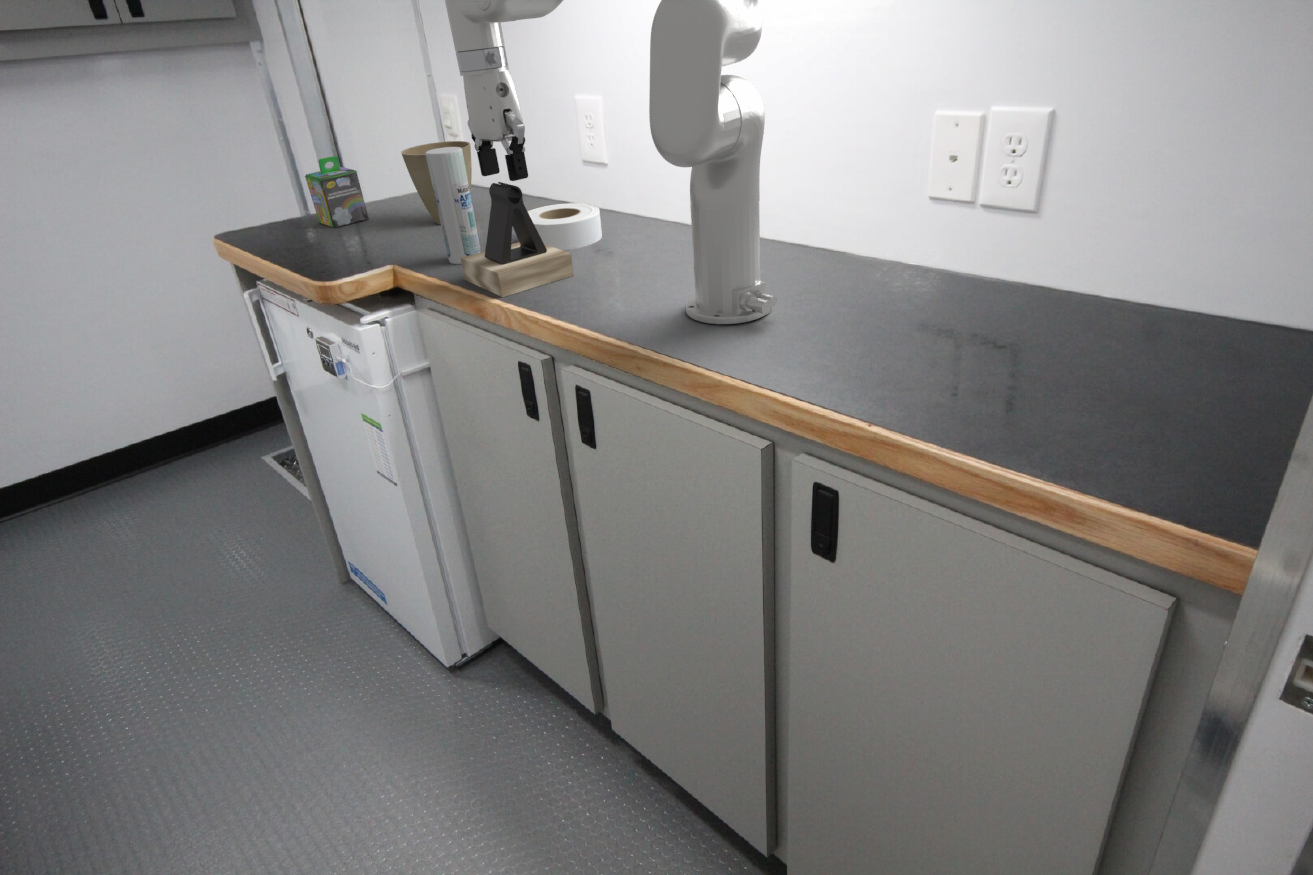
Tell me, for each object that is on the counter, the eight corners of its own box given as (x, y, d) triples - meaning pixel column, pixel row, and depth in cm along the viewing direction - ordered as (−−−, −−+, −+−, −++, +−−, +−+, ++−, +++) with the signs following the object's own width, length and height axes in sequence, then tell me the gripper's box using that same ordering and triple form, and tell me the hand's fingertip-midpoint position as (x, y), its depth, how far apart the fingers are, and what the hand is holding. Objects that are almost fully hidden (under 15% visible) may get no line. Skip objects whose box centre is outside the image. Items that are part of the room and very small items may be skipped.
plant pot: (416, 218, 185) (400, 147, 177) (479, 209, 188) (466, 138, 180) (419, 233, 172) (402, 157, 165) (487, 222, 176) (473, 147, 168)
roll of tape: (617, 239, 156) (614, 210, 154) (546, 257, 149) (542, 227, 146) (579, 225, 168) (575, 199, 165) (511, 242, 161) (506, 214, 158)
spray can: (456, 254, 155) (434, 147, 145) (487, 253, 154) (467, 146, 144) (442, 264, 149) (418, 154, 140) (474, 264, 148) (452, 152, 138)
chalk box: (354, 215, 194) (337, 151, 186) (370, 219, 188) (353, 154, 180) (317, 223, 188) (298, 159, 181) (333, 229, 182) (314, 162, 175)
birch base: (573, 275, 137) (570, 253, 135) (502, 297, 130) (498, 273, 128) (533, 260, 147) (529, 239, 145) (464, 279, 140) (460, 257, 138)
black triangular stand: (501, 265, 132) (488, 192, 126) (484, 258, 136) (471, 187, 131) (547, 252, 137) (536, 181, 131) (530, 246, 141) (519, 177, 135)
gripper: (531, 57, 117) (551, 176, 125) (479, 61, 130) (500, 169, 138) (486, 64, 114) (509, 186, 122) (437, 67, 126) (461, 177, 134)
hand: (504, 177), depth 130 cm, fingers open, 9 cm apart
